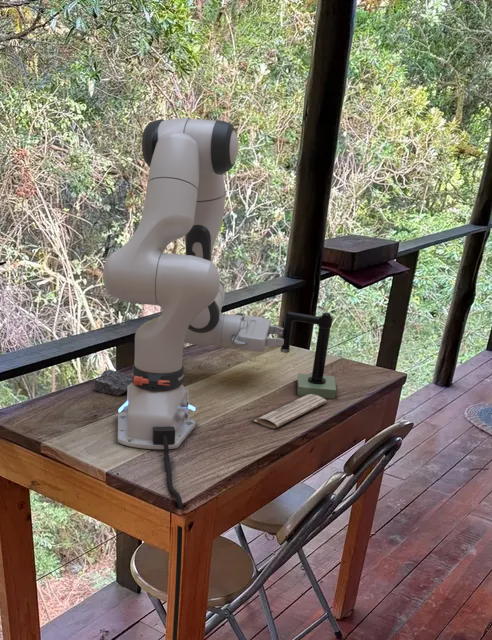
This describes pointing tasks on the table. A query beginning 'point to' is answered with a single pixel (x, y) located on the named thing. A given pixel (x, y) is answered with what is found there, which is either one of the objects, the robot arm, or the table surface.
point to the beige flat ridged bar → (290, 411)
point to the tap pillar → (320, 356)
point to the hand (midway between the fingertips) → (284, 337)
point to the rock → (113, 382)
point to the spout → (322, 321)
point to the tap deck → (316, 386)
